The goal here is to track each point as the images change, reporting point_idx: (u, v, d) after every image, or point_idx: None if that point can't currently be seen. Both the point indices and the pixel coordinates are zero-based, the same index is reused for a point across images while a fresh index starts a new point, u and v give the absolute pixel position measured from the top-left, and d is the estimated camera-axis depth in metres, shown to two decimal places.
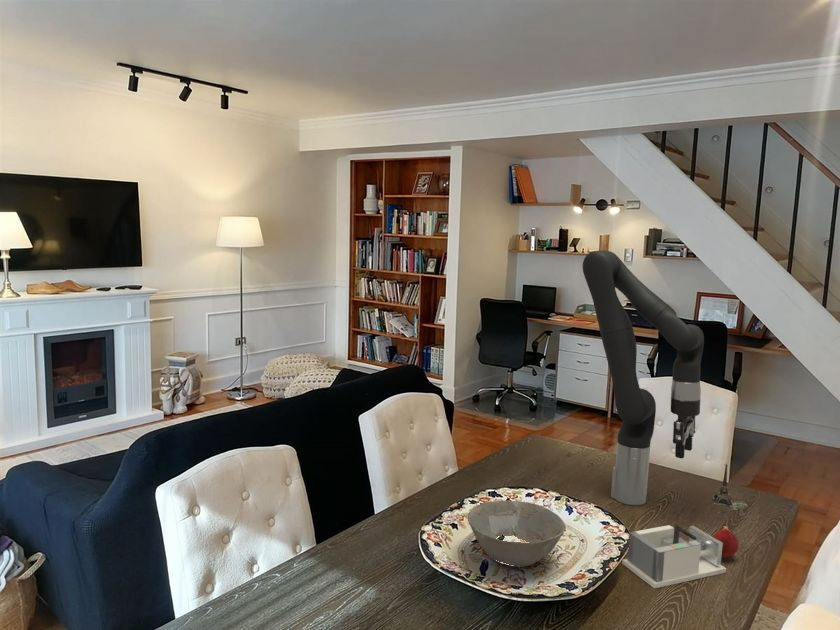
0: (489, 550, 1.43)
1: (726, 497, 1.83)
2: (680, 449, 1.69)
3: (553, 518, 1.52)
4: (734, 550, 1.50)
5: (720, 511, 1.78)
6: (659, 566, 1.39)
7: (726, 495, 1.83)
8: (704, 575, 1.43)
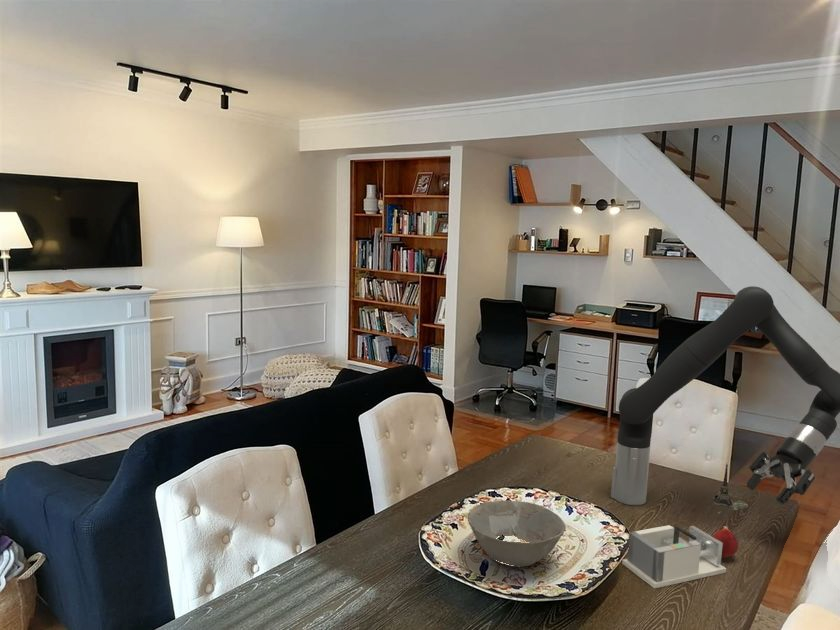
0: (489, 550, 1.43)
1: (727, 497, 1.83)
2: (789, 496, 1.50)
3: (553, 518, 1.52)
4: (734, 550, 1.50)
5: (721, 511, 1.78)
6: (659, 566, 1.39)
7: (726, 495, 1.83)
8: (704, 575, 1.43)
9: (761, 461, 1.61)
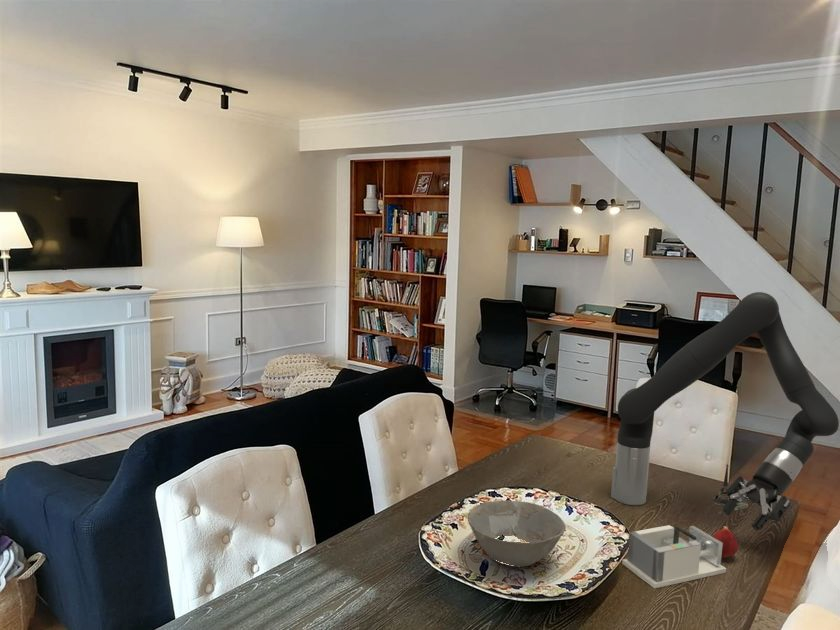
0: (489, 550, 1.43)
1: (727, 497, 1.83)
2: (765, 522, 1.49)
3: (553, 518, 1.52)
4: (734, 550, 1.50)
5: (721, 511, 1.78)
6: (659, 566, 1.39)
7: (727, 495, 1.83)
8: (704, 575, 1.43)
9: (738, 485, 1.59)
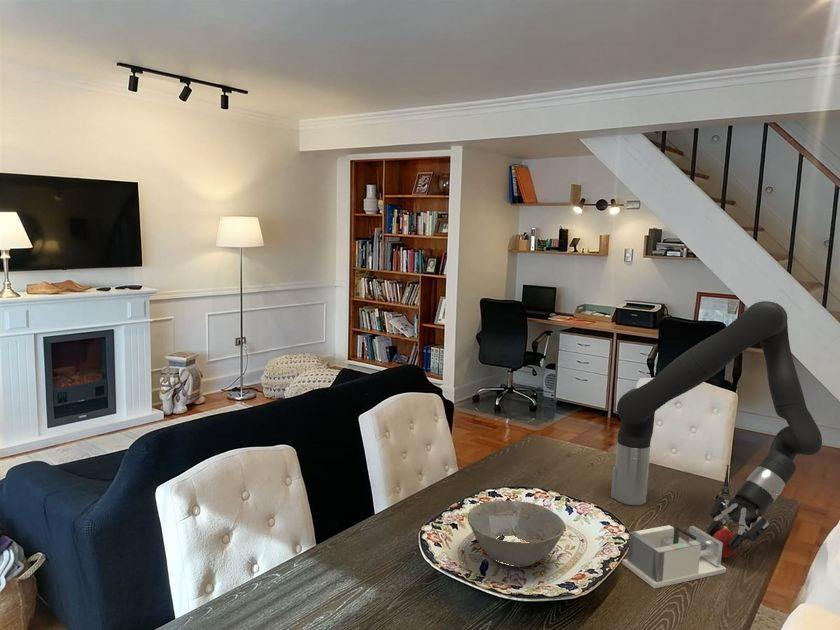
0: (489, 550, 1.43)
1: (728, 497, 1.83)
2: (740, 542, 1.48)
3: (553, 518, 1.52)
4: (734, 550, 1.50)
5: None
6: (659, 566, 1.39)
7: (728, 495, 1.83)
8: (704, 575, 1.43)
9: (720, 506, 1.57)
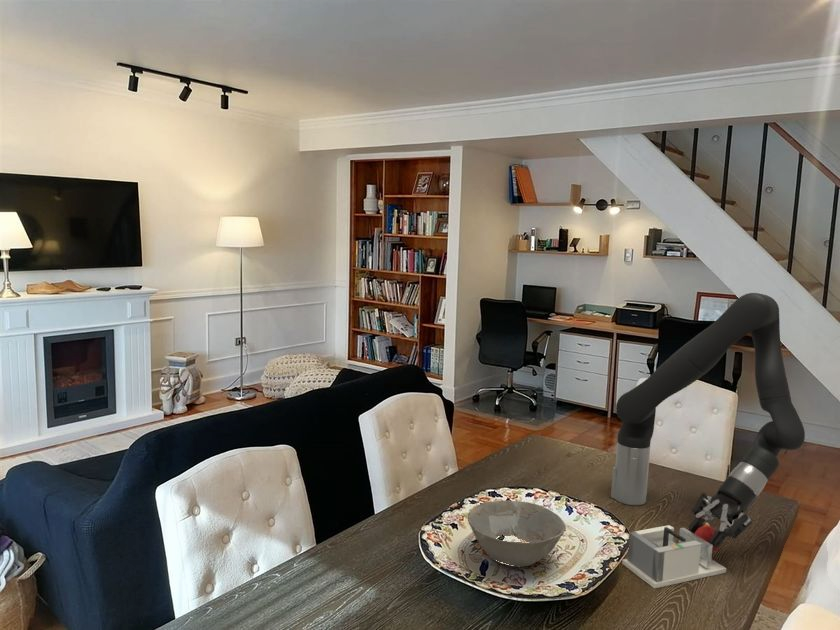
0: (489, 550, 1.43)
1: None
2: (722, 539, 1.46)
3: (553, 518, 1.52)
4: (716, 547, 1.47)
5: None
6: (659, 566, 1.39)
7: None
8: (704, 575, 1.43)
9: (702, 502, 1.55)
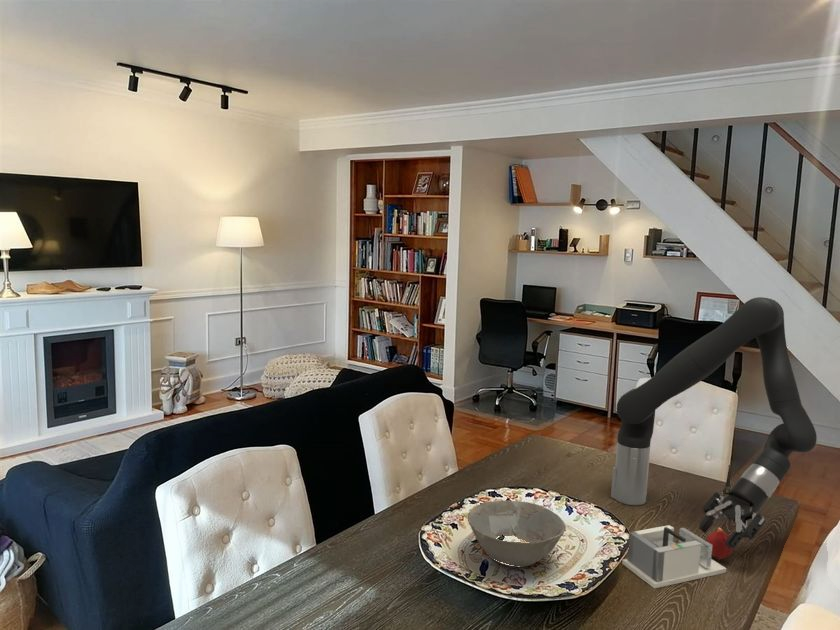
0: (489, 550, 1.43)
1: None
2: (738, 540, 1.47)
3: (553, 518, 1.52)
4: (728, 552, 1.49)
5: None
6: (659, 566, 1.39)
7: None
8: (704, 575, 1.43)
9: (714, 502, 1.57)
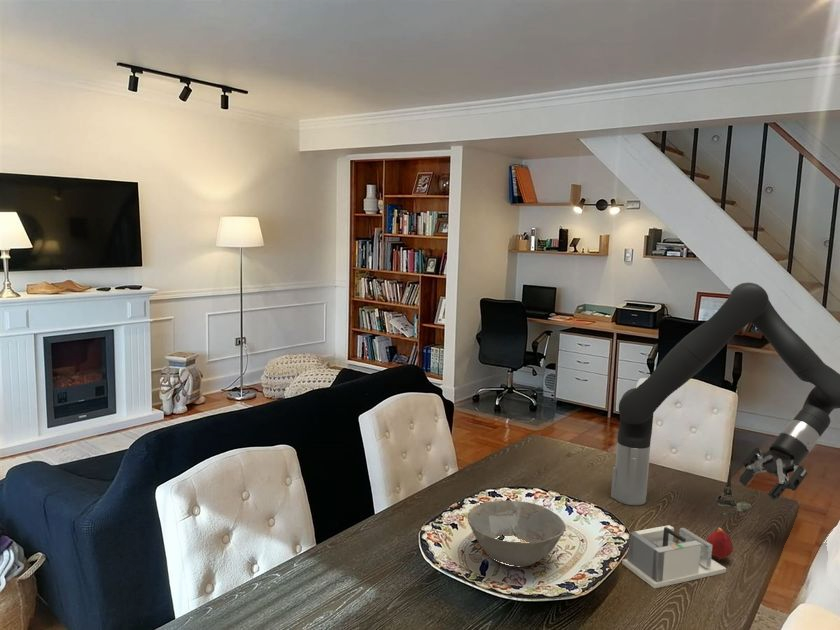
0: (489, 550, 1.43)
1: (730, 498, 1.82)
2: (781, 491, 1.51)
3: (553, 518, 1.52)
4: (728, 552, 1.49)
5: (725, 512, 1.78)
6: (659, 566, 1.39)
7: (730, 496, 1.83)
8: (704, 575, 1.43)
9: (754, 457, 1.61)
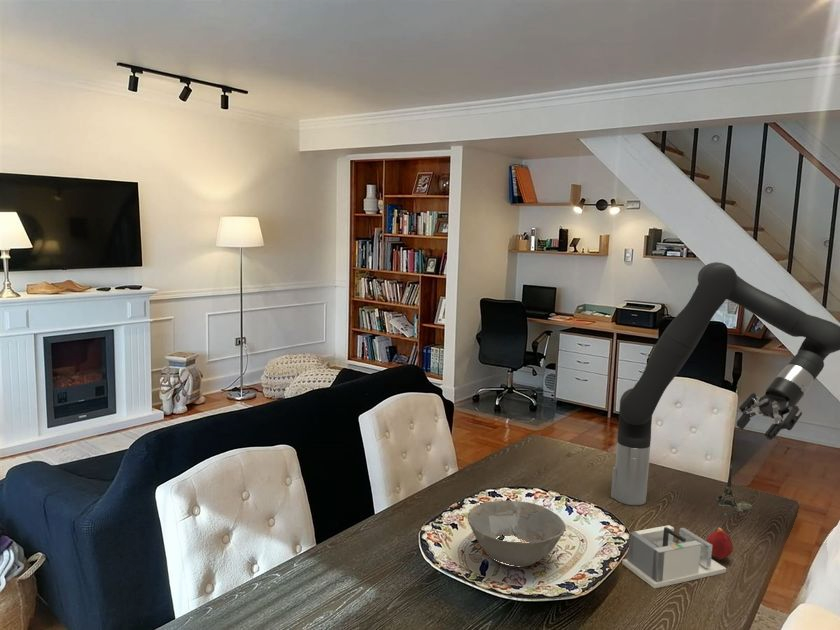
0: (489, 550, 1.43)
1: (731, 498, 1.82)
2: (777, 431, 1.55)
3: (553, 518, 1.52)
4: (728, 552, 1.49)
5: (726, 513, 1.77)
6: (659, 566, 1.39)
7: (731, 496, 1.82)
8: (704, 575, 1.43)
9: (750, 402, 1.66)
